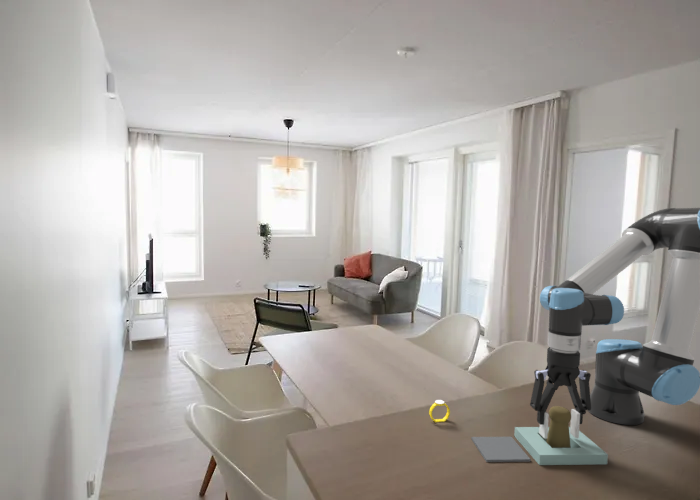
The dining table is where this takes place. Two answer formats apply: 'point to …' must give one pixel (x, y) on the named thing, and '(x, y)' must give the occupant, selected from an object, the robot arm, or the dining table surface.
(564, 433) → the cork
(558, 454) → the socket board
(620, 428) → the dining table surface
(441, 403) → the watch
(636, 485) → the dining table surface
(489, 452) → the rubber mat
